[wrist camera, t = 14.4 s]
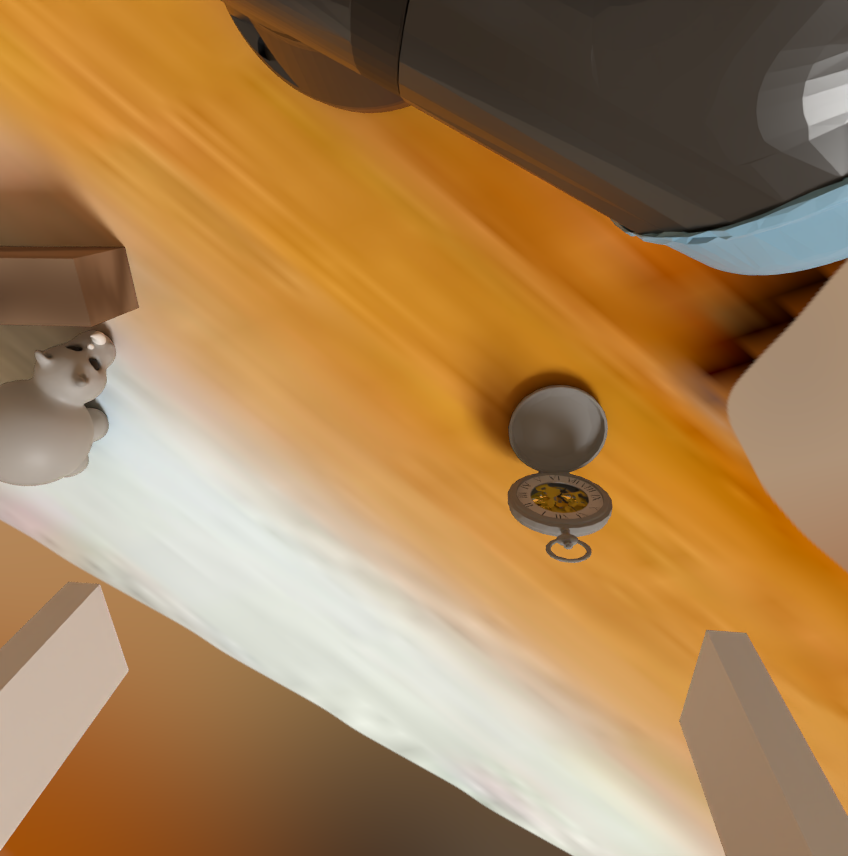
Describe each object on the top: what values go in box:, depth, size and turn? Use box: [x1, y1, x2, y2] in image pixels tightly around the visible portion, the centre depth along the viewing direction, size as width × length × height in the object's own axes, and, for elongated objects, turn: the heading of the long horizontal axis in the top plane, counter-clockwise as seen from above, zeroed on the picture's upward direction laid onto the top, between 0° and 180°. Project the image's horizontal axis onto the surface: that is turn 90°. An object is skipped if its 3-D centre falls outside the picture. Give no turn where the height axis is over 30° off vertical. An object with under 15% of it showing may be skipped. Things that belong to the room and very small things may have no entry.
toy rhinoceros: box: [0, 330, 116, 486], centre depth 38 cm, size 7×12×8 cm, turn 142°
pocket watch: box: [508, 385, 612, 563], centre depth 34 cm, size 8×8×10 cm
